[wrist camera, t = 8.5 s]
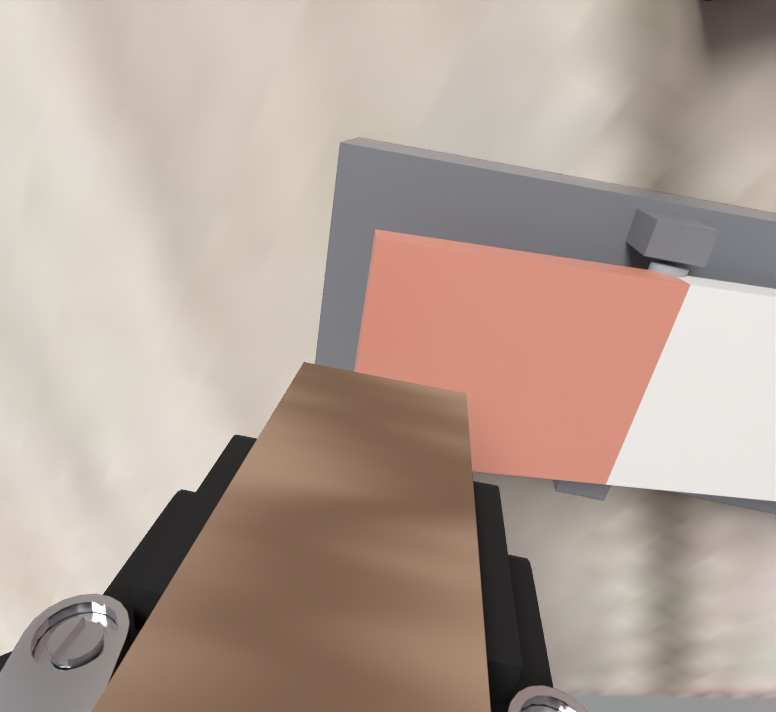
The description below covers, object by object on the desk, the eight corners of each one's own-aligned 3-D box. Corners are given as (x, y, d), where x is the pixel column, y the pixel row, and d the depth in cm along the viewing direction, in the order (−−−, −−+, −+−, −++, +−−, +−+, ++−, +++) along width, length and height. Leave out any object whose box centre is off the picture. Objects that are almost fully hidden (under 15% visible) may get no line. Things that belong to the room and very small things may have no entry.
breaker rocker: (912, 298, 20) (968, 319, 18) (800, 479, 23) (837, 511, 21) (375, 217, 17) (377, 231, 16) (343, 431, 21) (342, 463, 19)
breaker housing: (925, 240, 22) (1083, 284, 17) (786, 471, 27) (871, 564, 22) (358, 137, 23) (326, 145, 18) (328, 378, 28) (295, 445, 23)
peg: (466, 393, 13) (503, 865, 5) (433, 522, 14) (417, 1041, 6) (304, 362, 13) (57, 769, 5) (289, 493, 15) (86, 968, 6)
